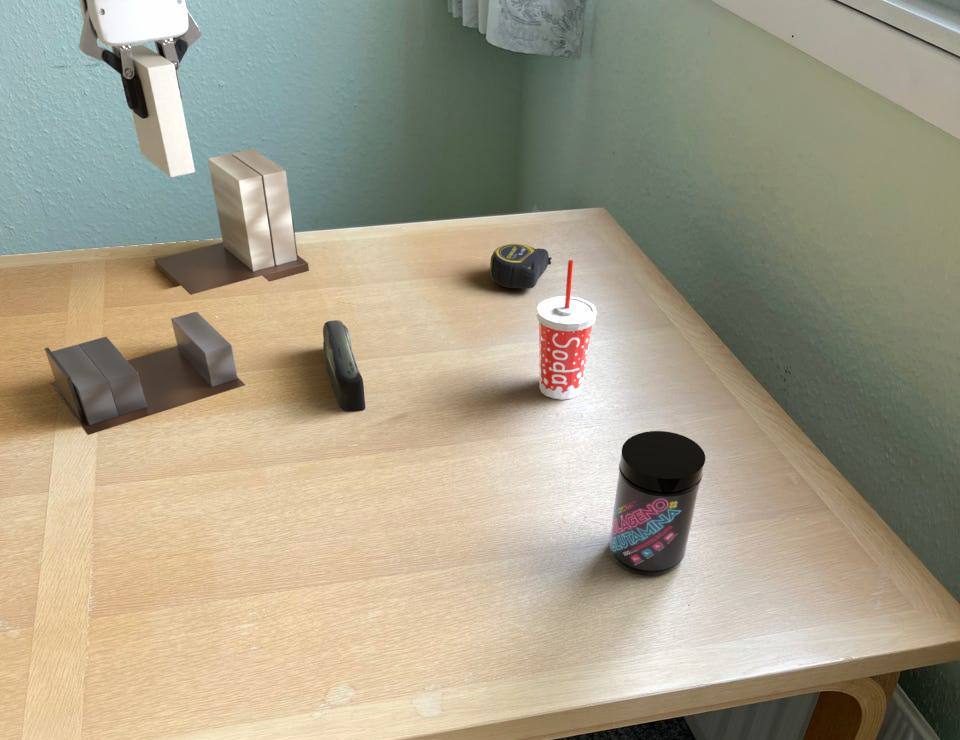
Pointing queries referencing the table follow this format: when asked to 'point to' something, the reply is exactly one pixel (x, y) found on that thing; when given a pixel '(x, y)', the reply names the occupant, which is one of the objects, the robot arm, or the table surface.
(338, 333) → the black stapler
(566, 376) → the beverage cup
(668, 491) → the supplement container
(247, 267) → the bookend with slabs
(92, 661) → the table surface
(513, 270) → the tape measure
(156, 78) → the white book
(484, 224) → the table surface
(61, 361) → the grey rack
